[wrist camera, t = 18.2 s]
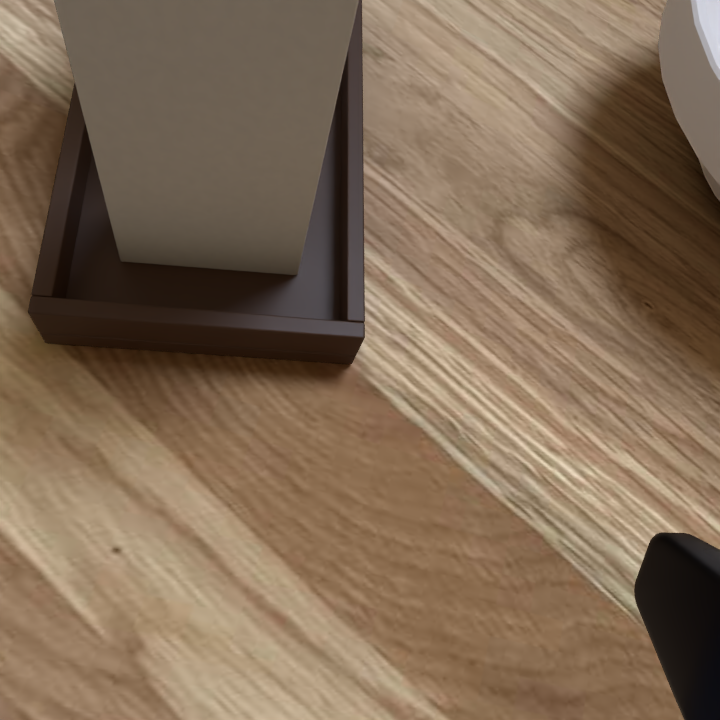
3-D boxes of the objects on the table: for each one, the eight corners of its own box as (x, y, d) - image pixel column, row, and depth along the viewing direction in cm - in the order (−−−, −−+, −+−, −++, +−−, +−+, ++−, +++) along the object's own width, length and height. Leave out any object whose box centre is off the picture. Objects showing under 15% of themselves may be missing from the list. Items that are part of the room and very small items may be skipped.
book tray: (352, 364, 24) (365, 338, 22) (44, 343, 22) (26, 312, 20) (351, 12, 30) (361, -35, 28) (115, -28, 28) (107, -80, 26)
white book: (297, 275, 24) (406, -208, 10) (120, 262, 23) (-25, -303, 9) (298, 216, 25) (399, -300, 11) (128, 200, 24) (7, -396, 10)
